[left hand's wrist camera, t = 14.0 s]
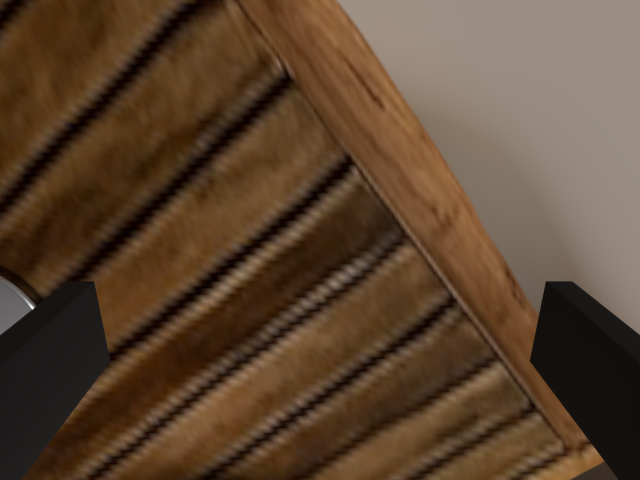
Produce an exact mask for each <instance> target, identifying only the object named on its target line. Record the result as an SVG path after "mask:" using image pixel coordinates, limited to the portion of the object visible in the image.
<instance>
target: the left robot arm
mask: <svg viewBox="0 0 640 480" xmlns="http://www.w3.org/2000/svg"><path fill="white" fill-rule="evenodd" d="M109 362H110V358H109V353H108V348H107V343H106V338H105V333H104V328H103V323H102V318H101V313H100V308H99V304H98V299H97V294H96V289H95V284H94V281H68V282H66V283H65V284H64V285H63V286H61V287H60V288H59V289H58V290H56V291H55V292H54V293H53V294H51V295H50V296H49V297H47V298H46V299H45V300H43V299H42V298H41V296H40V295H39V294H38V293H37V292H36V291H35V290H34V289H33V288H32V287H31V286H30V285H29V284H28V283H26V282H25V281H24V280H23V279H21V278H20V277H18V276H17V275H15V274H14V273H12V272H11V271H9V270H7V269H5V268H3V267H1V266H0V480H22V478H23V477H24V476H25V474H26V473H27V472H28V470H29V469H30V467H31V466H32V465H33V463H34V462H35V461H36V459H37V458H38V457H39V455H40V454H41V453H42V451H43V450H44V449H45V447H46V446H47V445H48V443H49V442H50V441H51V439H52V438H53V437H54V435H55V434H56V433H57V431H58V430H59V429H60V427H61V426H62V425H63V423H64V422H65V421H66V419H67V418H68V417H69V415H70V414H71V413H72V411H73V410H74V409H75V407H76V406H77V405H78V403H79V402H80V401H81V399H82V398H83V397H84V395H85V394H86V393H87V391H88V390H89V389H90V387H91V386H92V385H93V383H94V382H95V381H96V379H97V378H98V377H99V375H100V374H101V373H102V371H103V370H104V369H105V367H106V366H107V365H108V363H109ZM530 362H531V363H532V365H533V366H534V367H535V369H536V370H537V371H538V373H539V374H540V375H541V377H542V378H543V379H544V381H545V382H546V383H547V385H548V386H549V387H550V389H551V390H552V391H553V393H554V394H555V395H556V397H557V398H558V399H559V401H560V402H561V403H562V405H563V406H564V407H565V409H566V410H567V411H568V413H569V414H570V415H571V417H572V418H573V419H574V421H575V422H576V423H577V425H578V426H579V427H580V429H581V430H582V431H583V433H584V434H585V435H586V437H587V438H588V439H589V441H590V442H591V443H592V445H593V446H594V447H595V449H596V450H597V451H598V453H599V454H600V455H601V457H602V458H603V459H604V461H605V462H606V463H607V465H608V466H609V467H610V469H611V470H612V472H613V473H614V474H615V476H616V477H617V478H618V480H640V335H639V334H638V333H637V332H635V331H634V330H633V329H632V328H630V327H629V326H628V325H627V324H625V323H624V322H623V321H621V320H620V319H619V318H618V317H616V316H615V315H614V314H613V313H611V312H610V311H609V310H608V309H606V308H605V307H604V306H603V305H601V304H600V303H599V302H598V301H596V300H595V299H594V298H593V297H591V296H590V295H589V294H587V293H586V292H585V291H584V290H582V289H581V288H580V287H579V286H577V285H576V284H575V283H574V282H570V281H568V282H567V281H562V282H561V281H560V282H559V281H557V282H555V281H550V282H549V281H547V282H546V284H545V289H544V294H543V299H542V304H541V308H540V313H539V318H538V323H537V328H536V333H535V338H534V343H533V348H532V353H531V358H530Z"/></svg>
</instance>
